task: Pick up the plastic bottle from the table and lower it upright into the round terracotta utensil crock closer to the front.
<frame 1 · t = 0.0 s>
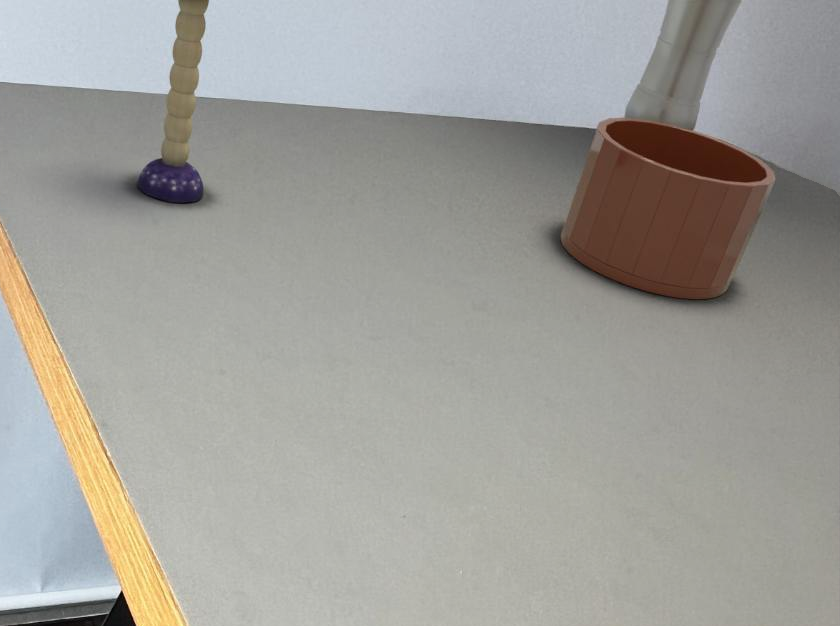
plastic bottle: (649, 146, 115), on the table
crock: (643, 260, 88), on the table
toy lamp: (164, 193, 80), on the table
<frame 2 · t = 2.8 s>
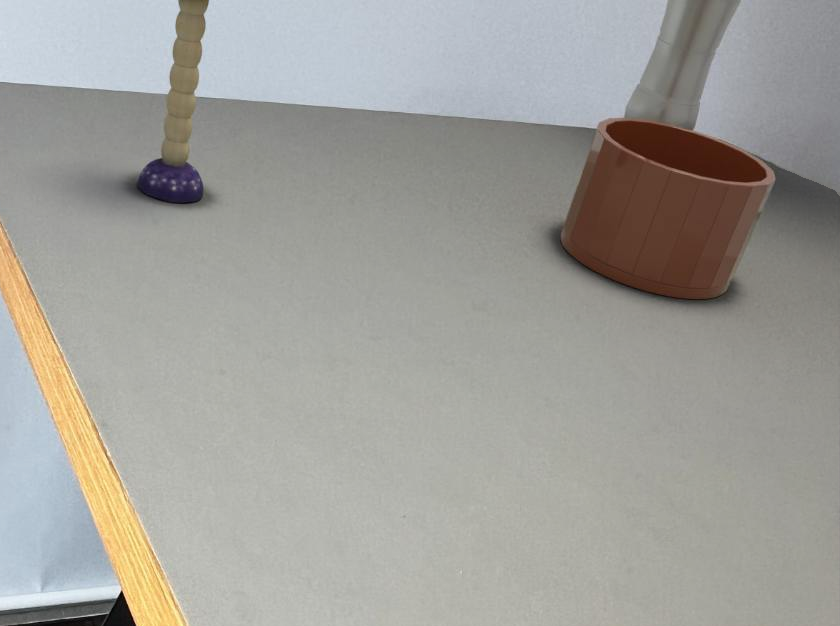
plastic bottle: (649, 146, 115), on the table, touching gripper
everything else where it was.
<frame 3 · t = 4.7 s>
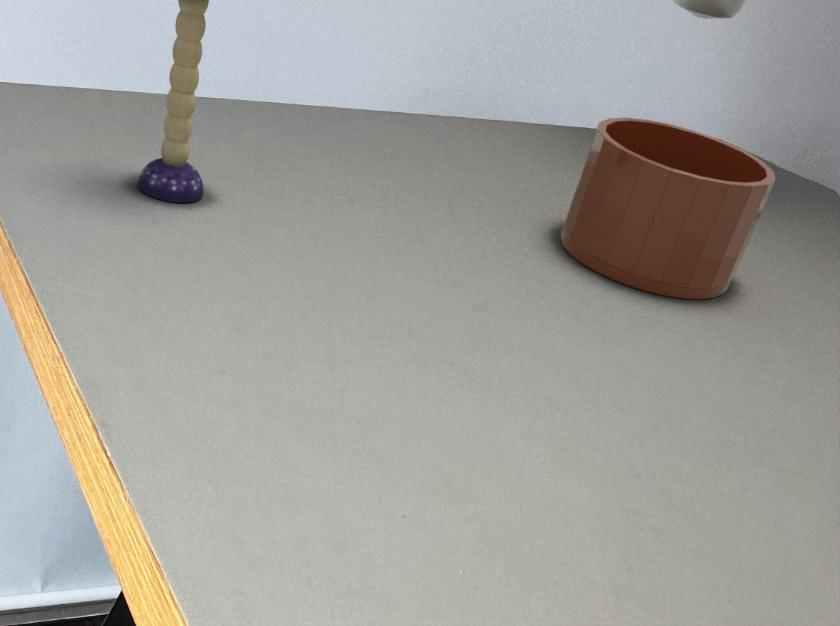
plastic bottle: (699, 18, 108), point 11 cm above the table, touching gripper
everything else where it was.
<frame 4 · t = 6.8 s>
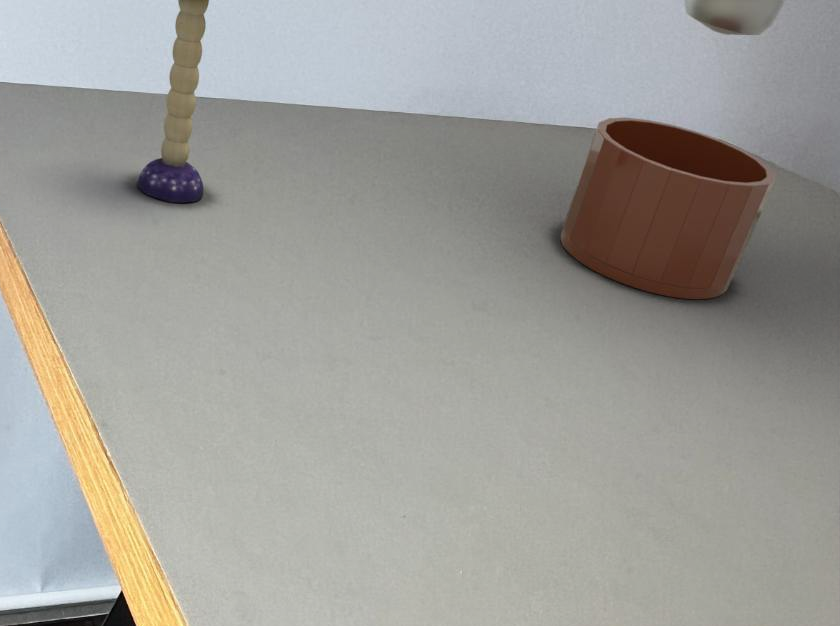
plastic bottle: (719, 34, 84), point 15 cm above the table, touching gripper
everything else where it was.
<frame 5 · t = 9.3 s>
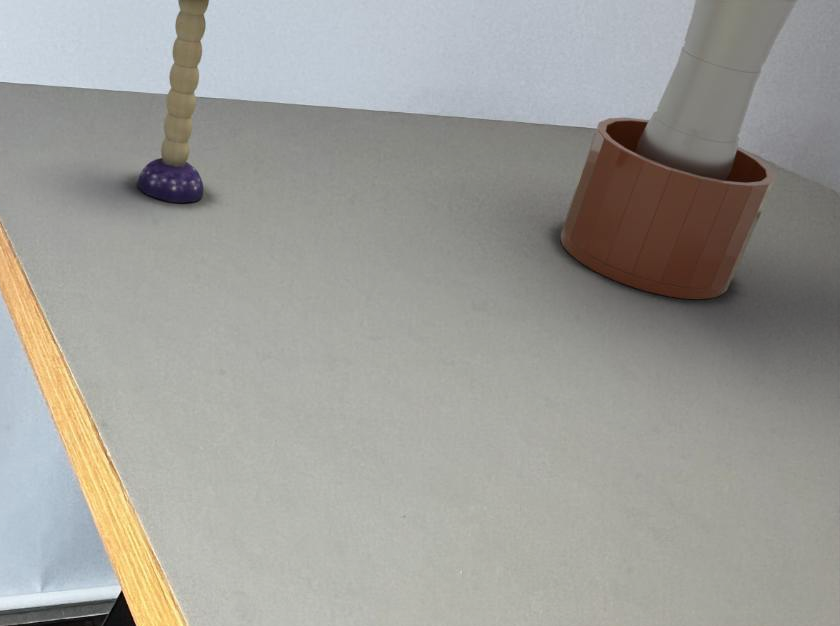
plastic bottle: (669, 195, 85), point 5 cm above the table, touching gripper
everything else where it was.
when the fingers open (16 cm above the table, at t = 11.0 s): plastic bottle stays where it is, resting on crock.
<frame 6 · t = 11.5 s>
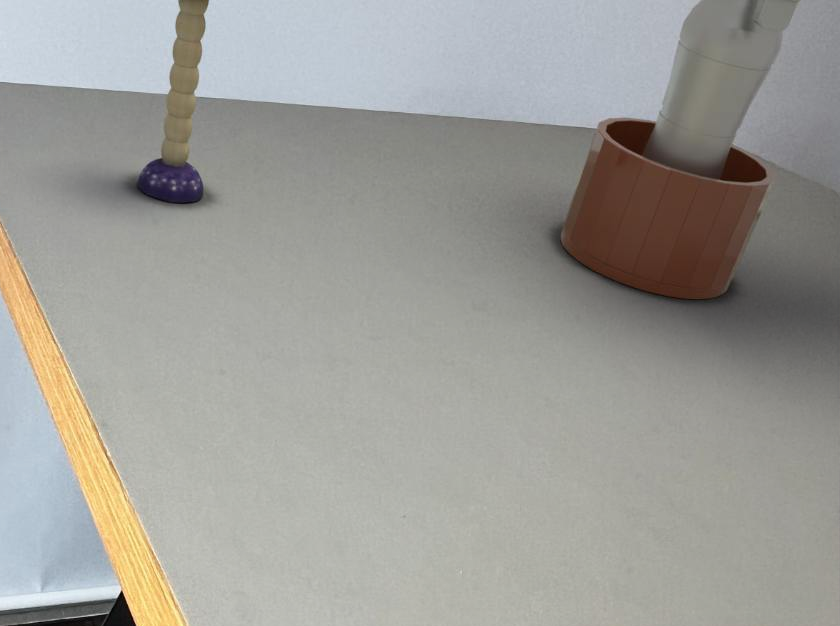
hand: (740, 8, 78), 17 cm above the table, tool pointing down, fingers open, 8 cm apart
plastic bottle: (647, 252, 88), point 1 cm above the table, touching crock
everything else where it was.
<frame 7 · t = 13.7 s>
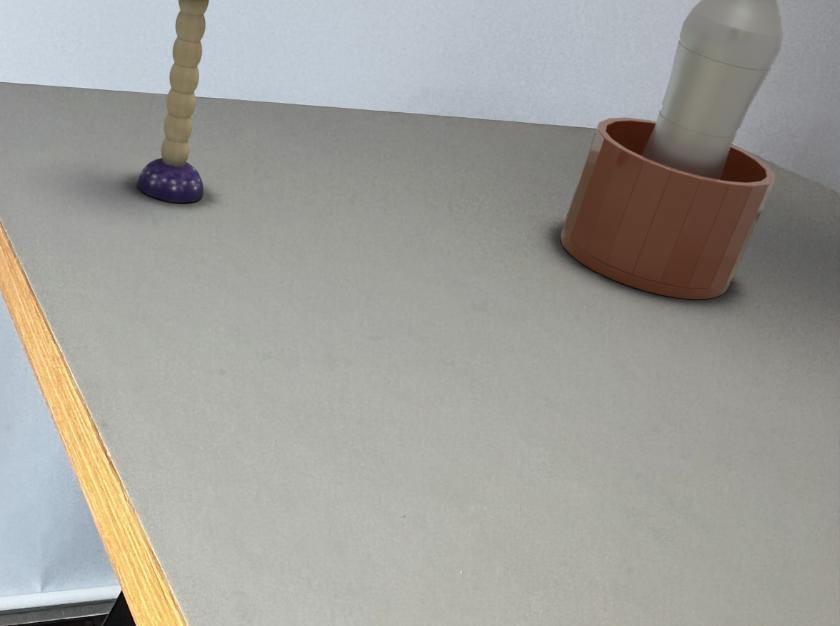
nothing on the table moved.
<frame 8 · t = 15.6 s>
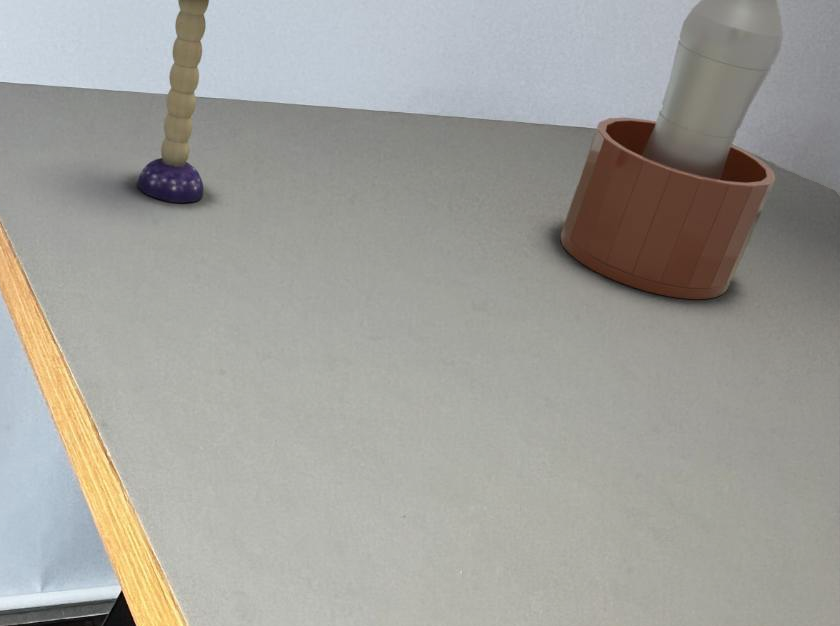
nothing on the table moved.
at the end: plastic bottle 0.1 cm off-centre in the crock, point 0.6 cm above the crock's base; plastic bottle tilted 0°; the gripper is holding nothing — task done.
